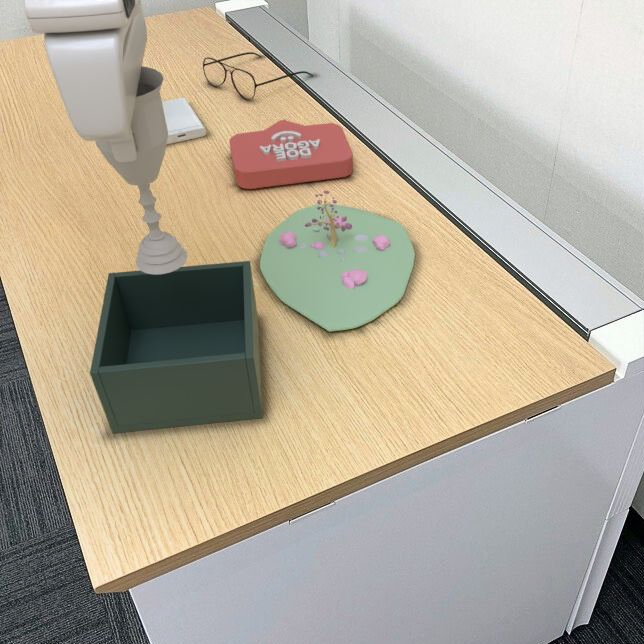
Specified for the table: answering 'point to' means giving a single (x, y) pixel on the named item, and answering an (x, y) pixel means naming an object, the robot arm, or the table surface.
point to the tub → (178, 348)
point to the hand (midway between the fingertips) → (131, 137)
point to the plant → (338, 264)
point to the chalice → (149, 174)
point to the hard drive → (181, 121)
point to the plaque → (290, 154)
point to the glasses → (243, 71)
